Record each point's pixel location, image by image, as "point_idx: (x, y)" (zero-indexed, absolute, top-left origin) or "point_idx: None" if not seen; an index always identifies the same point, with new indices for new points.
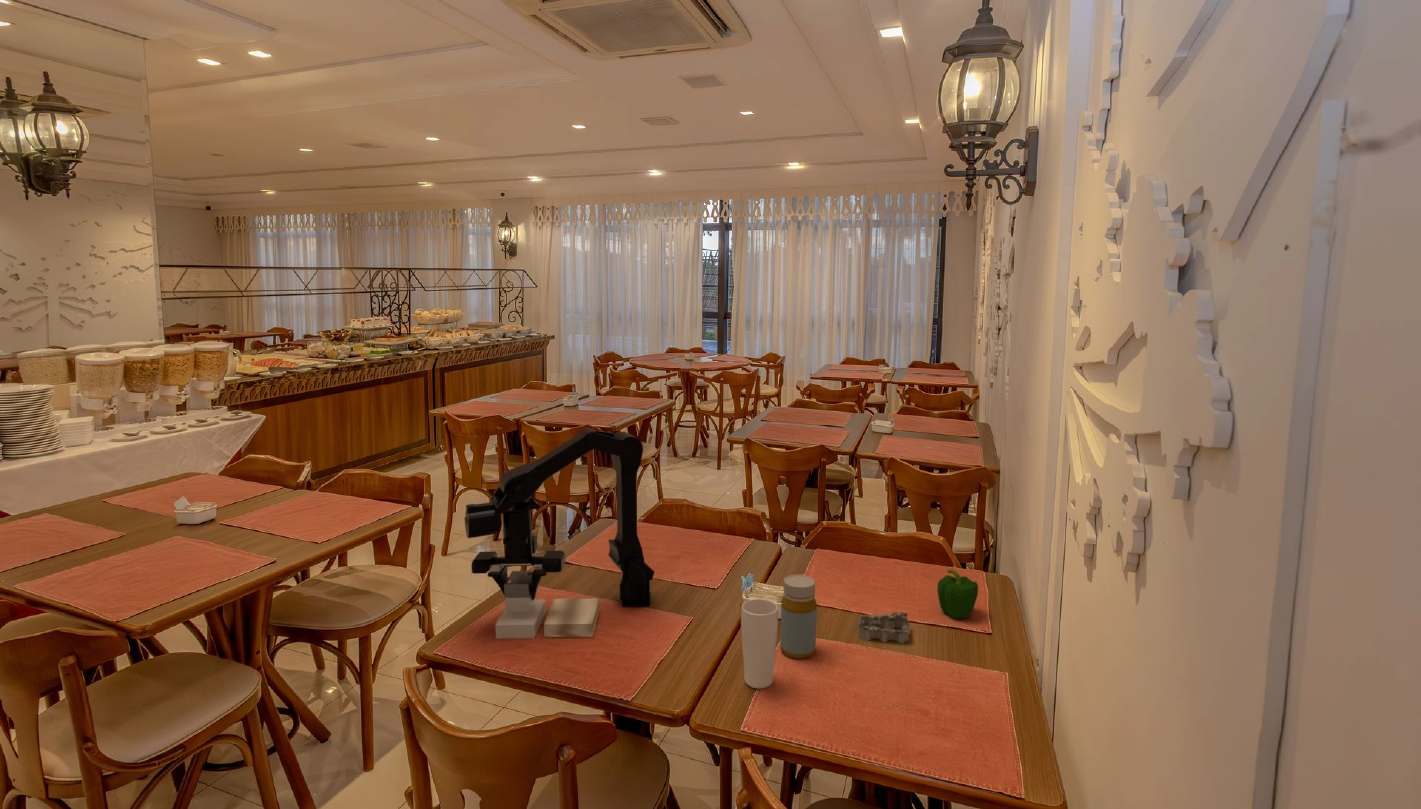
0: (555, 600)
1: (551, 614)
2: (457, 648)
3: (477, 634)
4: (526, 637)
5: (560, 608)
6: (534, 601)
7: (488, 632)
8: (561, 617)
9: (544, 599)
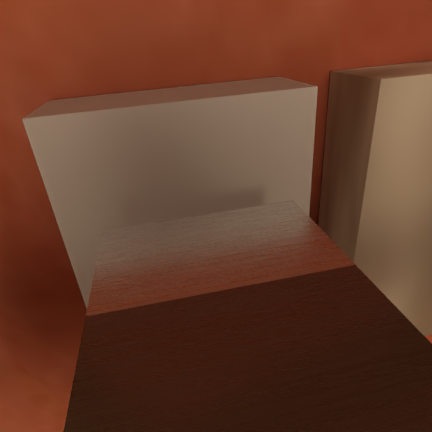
0: (388, 104)
1: (367, 275)
2: (5, 427)
3: (15, 340)
4: None
5: (414, 211)
6: (245, 134)
7: (57, 318)
8: (412, 293)
9: (312, 93)
